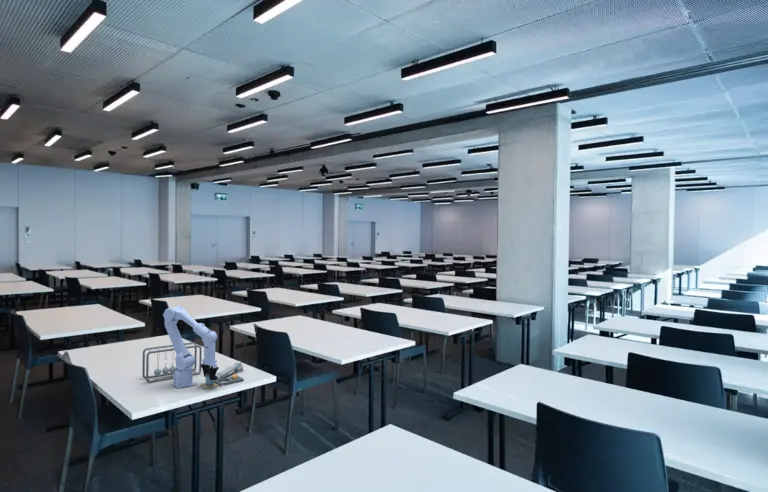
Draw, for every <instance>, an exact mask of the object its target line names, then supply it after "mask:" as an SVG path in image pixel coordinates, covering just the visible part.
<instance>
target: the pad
mask: <svg viewBox="0 0 768 492" xmlns="http://www.w3.org/2000/svg"><path fill="white" fill-rule="evenodd" d="M217 386H218V387H219V385H218V384H216V383H214V385H211V386H206V382H205V383H201V384H200V387H201V388H202V389H204V390H210V389H214V388H218V387H217ZM213 387H214V388H213ZM209 388H210V389H209Z"/></svg>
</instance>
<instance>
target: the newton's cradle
mask: <svg viewBox="0 0 768 492" xmlns="http://www.w3.org/2000/svg"><path fill="white" fill-rule="evenodd" d="M184 344H185V347H186V349H187V350H188V351H189V349H194V357H195V364H194V365H193V376H197V375H200V374H201V373H202V367H201V366H200V365H201V364H202V346H201V345H199V344H198V345H197V343H196V342H185V343H184ZM197 348H199V356H198V357H199V358H198V361H199V365H198V368H199V370H198V371H197V372H196V371H195V370H197V350H198V349H197ZM146 351H148V352H147V353H146ZM174 351H175V349H174V347H173V344H170V345H168V344H167V345H161V346H153V347H145V348H144V349H143V351H142V372H141V373H142V378H144V379H145V380H146V382H147V383H148V384H151V383H157V382H158V383H159V382H162V381H169V380H173V376H172V375H174V371H176V370H178V368H177V367H176V366H174V363H172V364H171V366H170V367H167V364H164V367H162V370H161V369H160V368H159V365H160V364H159V363H160V360H159V355H160V353H163V352H164V353H165V359H167V358H168V357H167V356H168V355H167V354H168V352H172V359H175V358H174V357H175V356H174V355H175V352H174ZM158 353H159V354H158ZM150 354H157V368H155V369H154V371H153V374H154V375H149V367H150V366H149V364H150V363H149V357H150ZM145 358H146V359H145ZM145 369H146V370H145ZM170 375H171V376H170ZM165 376H170V377H165ZM158 377H164V378H159V379H152V378H158ZM151 379H152V380H151Z"/></svg>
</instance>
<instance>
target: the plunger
mask: <svg viewBox="0 0 768 492" xmlns="http://www.w3.org/2000/svg"><path fill="white" fill-rule="evenodd" d="M238 376H239V375H238V373H237V374H236V373H233V374H232V375H231V377H232V379H233V380H234V379H238Z"/></svg>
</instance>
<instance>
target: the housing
mask: <svg viewBox="0 0 768 492" xmlns="http://www.w3.org/2000/svg"><path fill="white" fill-rule="evenodd" d="M222 381H224V382H222ZM244 381H245V378H243V377H241V376H240V375H238V379H234V380H233V379H232V376H229V377H223V378H222V379H218V380H214V383H216V384H218V387H223V386H222V385H225V386H228V384H229V385H232V384H238V383H242V382H244Z"/></svg>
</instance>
